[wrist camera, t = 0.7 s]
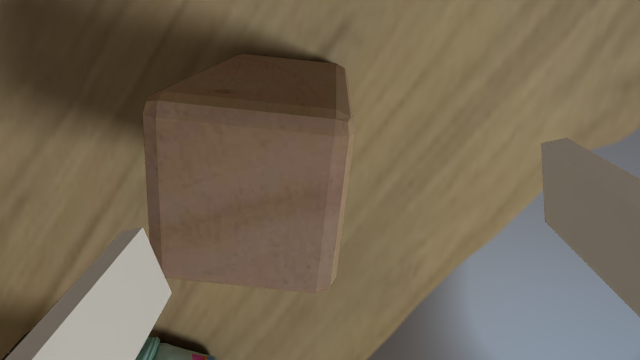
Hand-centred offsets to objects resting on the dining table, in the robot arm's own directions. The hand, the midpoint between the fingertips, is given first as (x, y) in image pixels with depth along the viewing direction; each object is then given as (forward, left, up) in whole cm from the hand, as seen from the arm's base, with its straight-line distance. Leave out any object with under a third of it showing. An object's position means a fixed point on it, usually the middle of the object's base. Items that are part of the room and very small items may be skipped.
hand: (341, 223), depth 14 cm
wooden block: (-2, -5, -26) cm, 27 cm away
